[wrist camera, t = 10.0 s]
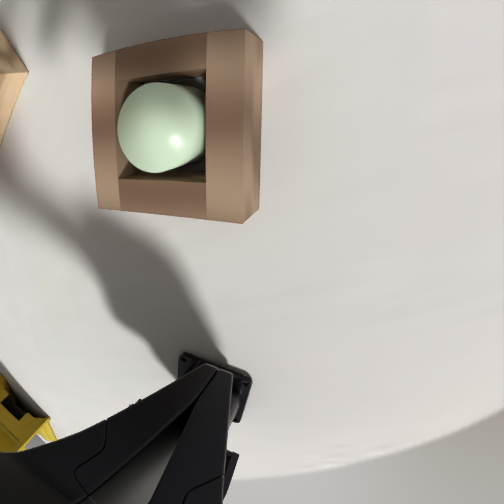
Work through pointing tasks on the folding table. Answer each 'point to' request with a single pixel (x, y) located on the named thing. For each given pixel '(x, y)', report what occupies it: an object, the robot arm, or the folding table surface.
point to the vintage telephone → (18, 423)
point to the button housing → (217, 126)
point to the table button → (163, 126)
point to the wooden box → (9, 81)
